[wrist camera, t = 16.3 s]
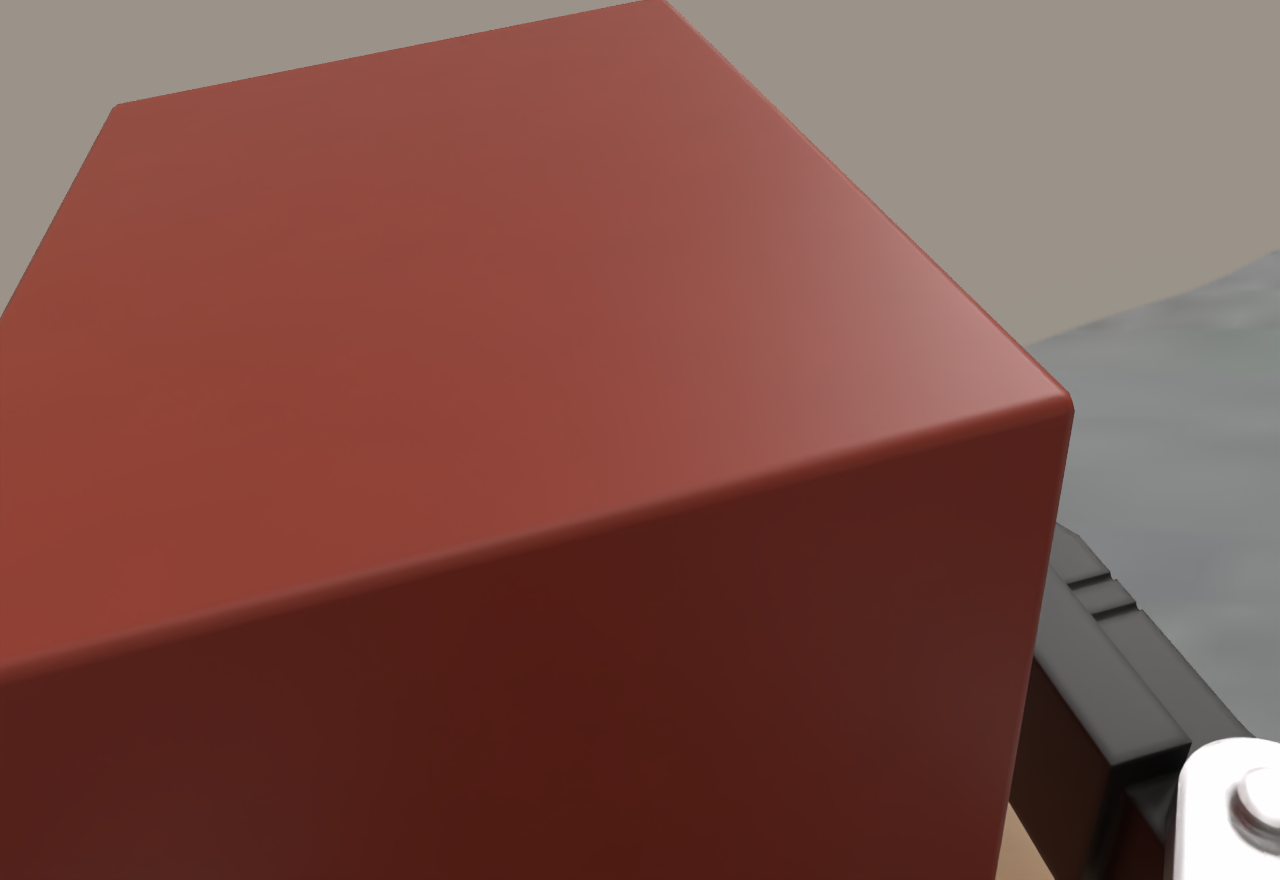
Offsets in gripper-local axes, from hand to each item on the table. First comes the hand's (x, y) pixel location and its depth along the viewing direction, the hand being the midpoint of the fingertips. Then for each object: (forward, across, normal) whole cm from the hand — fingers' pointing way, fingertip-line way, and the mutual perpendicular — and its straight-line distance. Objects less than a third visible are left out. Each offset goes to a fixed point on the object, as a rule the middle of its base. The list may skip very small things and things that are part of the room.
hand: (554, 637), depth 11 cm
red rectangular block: (-2, 0, +9) cm, 9 cm away
